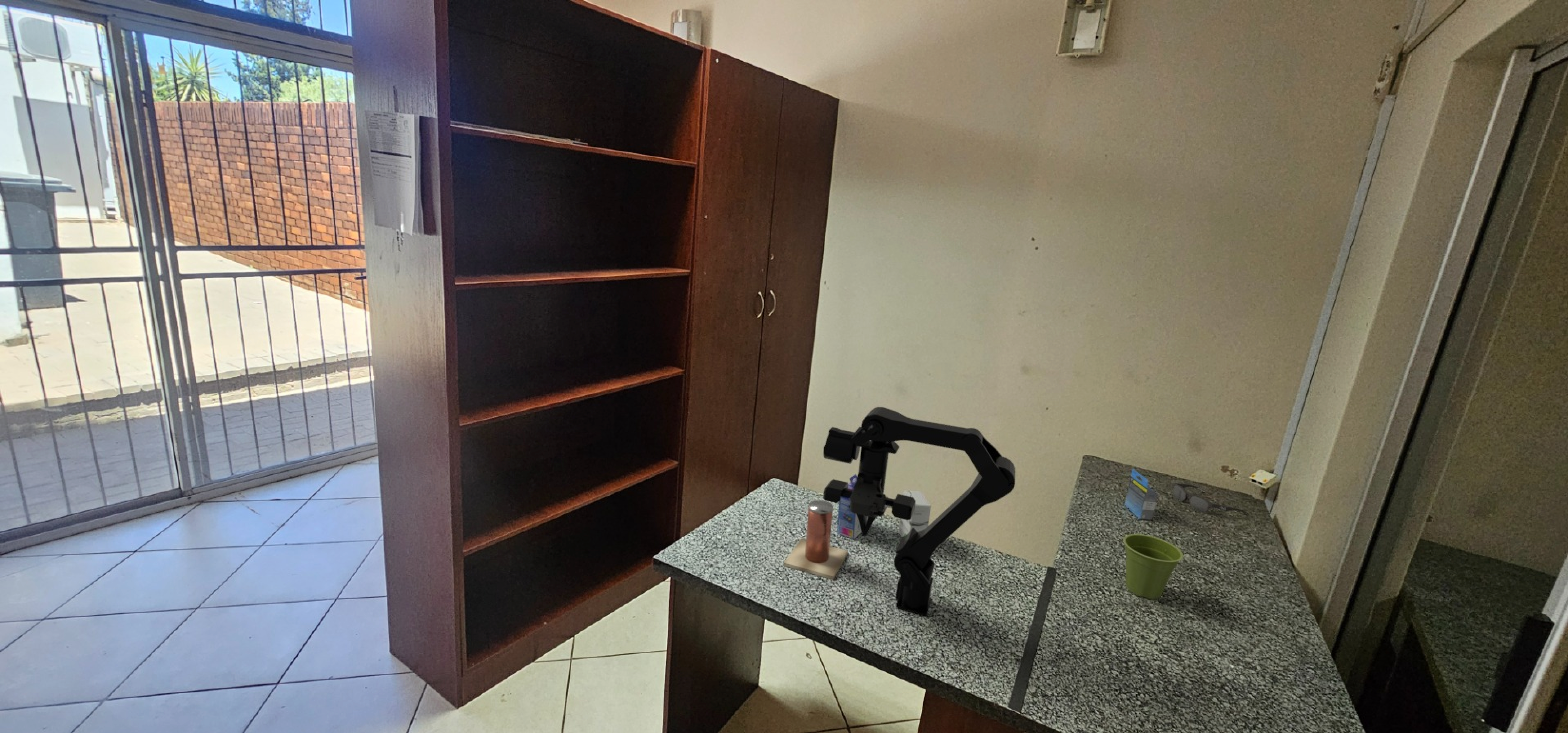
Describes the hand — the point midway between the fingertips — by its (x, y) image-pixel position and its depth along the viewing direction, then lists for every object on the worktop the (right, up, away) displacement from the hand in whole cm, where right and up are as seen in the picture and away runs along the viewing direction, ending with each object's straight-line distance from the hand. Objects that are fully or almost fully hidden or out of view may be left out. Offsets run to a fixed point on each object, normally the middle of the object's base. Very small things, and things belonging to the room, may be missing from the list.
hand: (864, 535), depth 131 cm
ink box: (+15, -8, +26) cm, 31 cm away
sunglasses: (+115, -7, +60) cm, 130 cm away
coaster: (-10, -9, +13) cm, 19 cm away
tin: (-10, -9, +13) cm, 18 cm away
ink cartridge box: (+1, -6, +29) cm, 29 cm away
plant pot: (+66, -16, +11) cm, 68 cm away
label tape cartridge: (+88, -8, +50) cm, 102 cm away
